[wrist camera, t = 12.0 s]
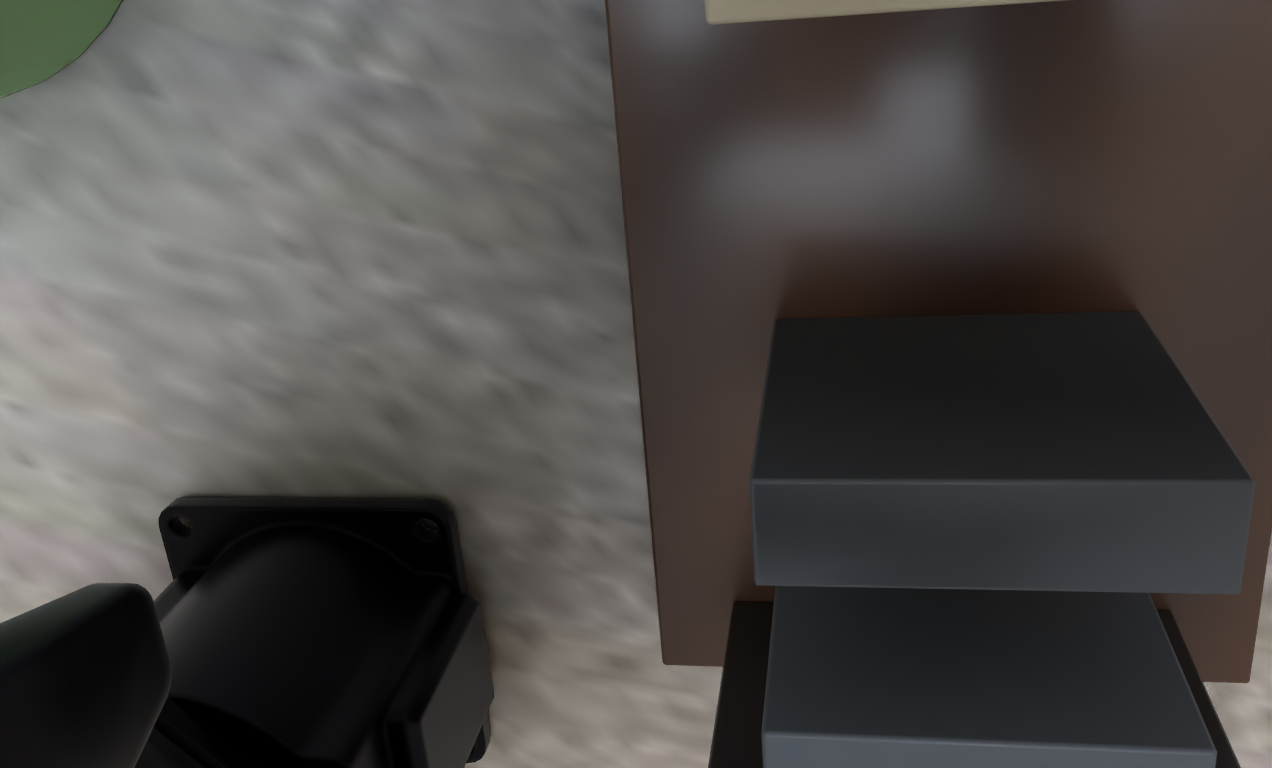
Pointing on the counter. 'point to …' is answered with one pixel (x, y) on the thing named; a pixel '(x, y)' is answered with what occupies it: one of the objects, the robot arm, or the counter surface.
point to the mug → (46, 37)
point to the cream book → (827, 8)
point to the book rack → (932, 247)
